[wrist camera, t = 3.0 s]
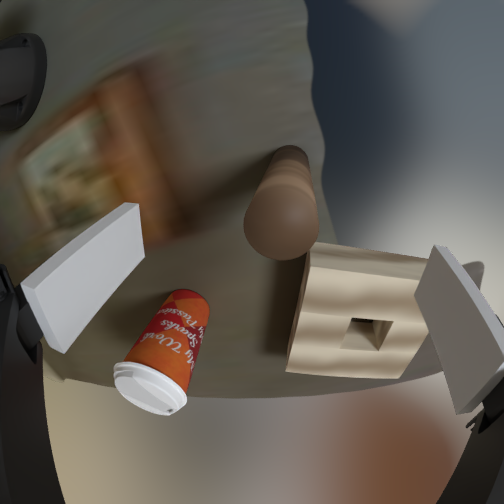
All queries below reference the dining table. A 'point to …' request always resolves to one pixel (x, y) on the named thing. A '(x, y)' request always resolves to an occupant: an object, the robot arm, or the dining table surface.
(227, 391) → the dining table surface
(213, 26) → the dining table surface
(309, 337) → the maple block
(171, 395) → the coffee cup
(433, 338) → the robot arm
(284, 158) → the walnut peg
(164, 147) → the dining table surface
